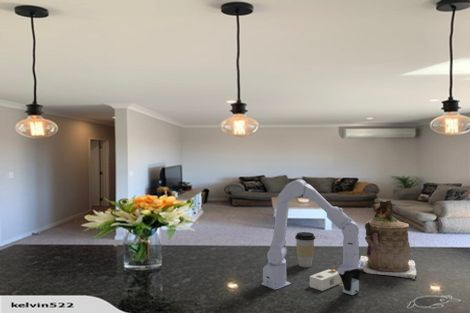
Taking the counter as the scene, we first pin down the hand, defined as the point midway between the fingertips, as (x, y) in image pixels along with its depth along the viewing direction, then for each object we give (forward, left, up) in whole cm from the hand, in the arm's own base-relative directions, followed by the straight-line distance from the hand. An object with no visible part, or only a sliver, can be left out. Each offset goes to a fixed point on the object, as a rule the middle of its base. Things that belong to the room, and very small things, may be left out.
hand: (351, 288), depth 139 cm
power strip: (+2, +11, -2) cm, 12 cm away
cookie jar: (+38, +6, -2) cm, 39 cm away
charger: (0, 0, -2) cm, 2 cm away
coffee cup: (+14, +33, -2) cm, 36 cm away
